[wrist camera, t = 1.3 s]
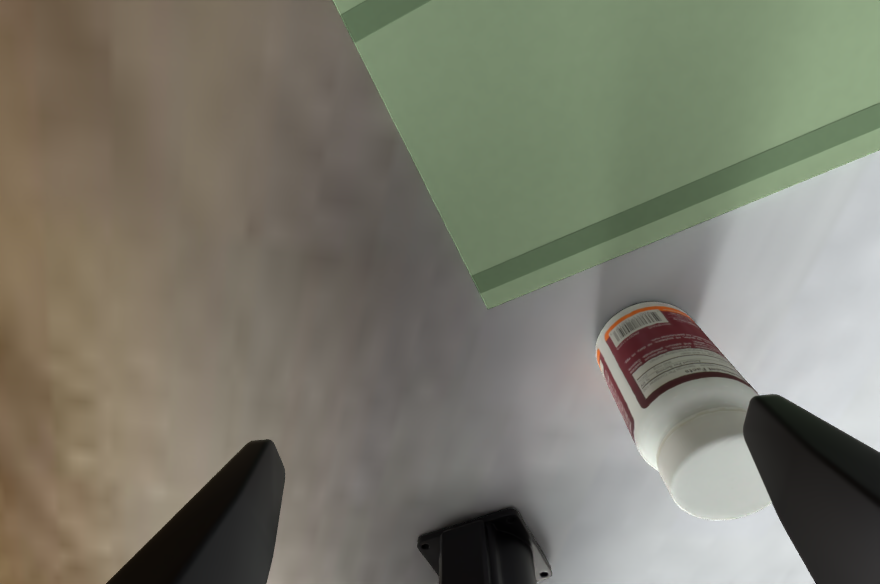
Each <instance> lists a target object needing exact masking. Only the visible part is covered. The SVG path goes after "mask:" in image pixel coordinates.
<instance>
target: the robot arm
mask: <svg viewBox="0 0 880 584" xmlns="http://www.w3.org/2000/svg"><path fill="white" fill-rule="evenodd" d="M743 436H744V440H745V442H746V445H747V447H748V449H749V451H750V454H751V456H752V458H753V461H754V463H755V465H756V467H757V470H758V472H759V474H760V477H761V479H762V481H763V483H764V486H765V488H766V490H767V492H768V495H769V497H770V499H771V502H772V504H773V506H774V508H775V510H776V513H777V515H778V517H779V519H780V521H781V523H782V525H783V526H784V528H785V530H786V532H787V534H788V536H789V537H790V539H791V541H792V543H793V544H794V546H795V548H796V550H797V551H798V553H799V555H800V557H801V558H802V560H803V562H804V564H805V565H806V567H807V569H808V571H809V572H810V574H811V576H812V578H813V579H814V581H815V583H816V584H880V452H878V451H876V450H874V449H873V448H871V447H869V446H867V445H866V444H864V443H862V442H860V441H859V440H857V439H855V438H853V437H852V436H850V435H848V434H846V433H845V432H843V431H841V430H839V429H838V428H836V427H834V426H832V425H831V424H829V423H827V422H825V421H824V420H822V419H820V418H818V417H817V416H815V415H813V414H811V413H810V412H808V411H806V410H804V409H803V408H801V407H799V406H797V405H796V404H794V403H792V402H790V401H789V400H787V399H785V398H783V397H781V396H779V395H776V394H770V395H759V396H754V397H752V398H751V400H750V402H749V406H748V409H747V413H746V417H745V421H744V425H743ZM284 482H285V469H284V466H283V463H282V461H281V458H280V456H279V454H278V451H277V449H276V447H275V444H274V443H273V442H272V441H271V440H268V439H266V440H255V441H251V442H249V443H247V444H246V445H245V446H244V447H243V448H242V449H241V450H240V451H239V452H238V453H237V454H236V455H235V456H234V457H233V458H232V459H231V460H230V461H229V462H228V463H227V464H226V465H225V466H224V467H223V468H222V469H221V470H220V471H219V472H218V473H217V474H216V475H215V476H214V477H213V478H212V479H211V480H210V481H209V482H208V483H207V484H206V485H205V486H204V487H203V488H202V489H201V490H200V491H199V492H198V493H197V494H196V495H195V496H194V497H193V498H192V499H191V500H190V501H189V502H188V503H187V504H186V505H185V506H184V507H183V508H182V509H181V510H180V511H179V512H178V513H177V514H176V515H175V516H174V517H173V518H172V519H171V520H170V521H169V522H168V523H167V524H166V525H165V526H164V527H163V528H162V529H161V530H160V531H159V532H158V533H157V534H156V535H155V536H154V537H153V538H152V539H151V540H150V541H149V542H148V543H147V544H146V545H145V546H144V547H143V548H142V549H140V550H139V551H138V552H137V553H136V554H135V555H134V556H133V557H132V558H131V559H130V560H129V561H128V562H127V563H126V564H125V565H124V566H123V567H122V568H121V569H120V570H119V571H118V572H117V573H116V574H115V575H114V576H113V577H112V578H111V579H110V580H109V581H108V582H107V583H106V584H266V582H267V578H268V575H269V571H270V567H271V562H272V558H273V553H274V547H275V541H276V535H277V528H278V522H279V515H280V508H281V502H282V495H283V489H284ZM417 547H418V549H419V551H420V552H421V553H422V555H423V556H424V557H425V558H426V560H427V561H428V562H429V564H430V565H431V566H432V568H433V569H434V570H435V572H436V573H437V574H438V575H439V584H537V581H541V580H545V579H548V578H550V577H551V576H552V571H551V566H550V565H549V563H548V561H547V560H546V558H545V556H544V555H543V553H542V551H541V549H540V548H539V546H538V544H537V543H536V541H535V539H534V538H533V536H532V534H531V533H530V531H529V529H528V528H527V526H526V524H525V523H524V521H523V519H522V518H521V516H520V514H519V513H518V511H517V510H515V509H511V508H510V509H505V510H502V511H499V512H496V513H492V514H489V515H486V516H483V517H480V518H477V519H473V520H470V521H467V522H464V523H461V524H458V525H454V526H451V527H448V528H445V529H442V530H439V531H435V532H432V533H429V534H426V535H423V536H421V537H419V538H418V543H417Z"/></svg>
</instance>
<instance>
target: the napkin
mask: <svg viewBox="0 0 880 584" xmlns="http://www.w3.org/2000/svg"><path fill="white" fill-rule="evenodd" d="M333 2H334V4H335V6H336V8H337V10H338V12H339V14H340V16H341V18H342V20H343V22H344V24H345V26H346V28H347V30H348V32H349V34H350V36H351V38H352V40H353V42H354V44H355V46H356V48H357V50H358V52H359V54H360V56H361V58H362V60H363V62H364V64H365V66H366V68H367V70H368V72H369V74H370V76H371V78H372V80H373V82H374V84H375V86H376V88H377V90H378V92H379V94H380V96H381V98H382V100H383V102H384V104H385V106H386V108H387V110H388V112H389V114H390V116H391V118H392V120H393V122H394V124H395V126H396V128H397V129H398V131H399V133H400V135H401V137H402V139H403V141H404V143H405V145H406V147H407V149H408V151H409V153H410V155H411V157H412V159H413V161H414V163H415V165H416V167H417V169H418V171H419V173H420V175H421V177H422V179H423V181H424V183H425V185H426V187H427V189H428V191H429V193H430V195H431V197H432V199H433V201H434V203H435V205H436V207H437V209H438V211H439V213H440V215H441V217H442V219H443V221H444V223H445V225H446V227H447V229H448V231H449V233H450V235H451V237H452V239H453V241H454V243H455V245H456V247H457V249H458V251H459V253H460V255H461V257H462V259H463V261H464V263H465V265H466V267H467V269H468V271H469V273H470V275H471V277H472V279H473V281H474V283H475V285H476V287H477V289H478V291H479V293H480V295H481V297H482V299H483V301H484V303H485V305H486V307H487V309H490V308H493V307H495V306H498V305H500V304H502V303H505V302H507V301H510V300H512V299H515V298H517V297H520V296H522V295H525V294H527V293H529V292H532V291H534V290H537V289H539V288H542V287H544V286H547V285H549V284H552V283H554V282H557V281H559V280H561V279H564V278H566V277H569V276H571V275H574V274H576V273H579V272H581V271H584V270H586V269H588V268H591V267H593V266H596V265H598V264H601V263H603V262H606V261H608V260H611V259H613V258H616V257H618V256H620V255H623V254H625V253H628V252H630V251H633V250H635V249H638V248H640V247H643V246H645V245H647V244H650V243H652V242H655V241H657V240H660V239H662V238H665V237H667V236H670V235H672V234H675V233H677V232H679V231H682V230H684V229H687V228H689V227H692V226H694V225H697V224H699V223H702V222H704V221H707V220H709V219H711V218H714V217H716V216H719V215H721V214H724V213H726V212H729V211H731V210H734V209H736V208H738V207H741V206H743V205H746V204H748V203H751V202H753V201H756V200H758V199H761V198H763V197H766V196H768V195H770V194H773V193H775V192H778V191H780V190H783V189H785V188H788V187H790V186H793V185H795V184H797V183H800V182H802V181H805V180H807V179H810V178H812V177H815V176H817V175H820V174H822V173H825V172H827V171H829V170H832V169H834V168H837V167H839V166H842V165H844V164H847V163H849V162H852V161H854V160H856V159H859V158H861V157H864V156H866V155H869V154H871V153H874V152H876V151H879V150H880V0H333Z"/></svg>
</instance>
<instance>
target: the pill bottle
mask: <svg viewBox="0 0 880 584" xmlns="http://www.w3.org/2000/svg"><path fill="white" fill-rule="evenodd" d="M596 359H597V362H598V365H599V367H600V369H601V372H602V374H603V376H604V378H605V380H606V382H607V384H608V386H609V389H610V391H611V393H612V395H613V397H614V399H615V402H616V404H617V406H618V408H619V410H620V412H621V414H622V416H623V418H624V421H625V423H626V425H627V427H628V429H629V432H630V434H631V436H632V438H633V440H634V442H635V444H636V447H637V449H638V451H639V452H640V454H641V456H642V457H643V458H644V460H645V461H646V462H647V463H648V464H649V465H650V466H652V467H653V468H654V469H656V470H658V471H659V473H660V476H661V478H662V479H663V481H664V483H665V485H666V486H667V488H668V490H669V492H670V494H671V496H672V498H673V499H674V501H675V502H676V504H677V505H678V506H679V507H680V508H681V509H682V510H684V511H685V512H686V513H688V514H690V515H693V516H695V517H698V518H702V519H706V520H730V519H737V518H741V517H744V516H748V515H750V514H753V513H755V512H758V511H760V510H762V509H763V508H765V507H767V506H768V505H770V504H771V503H772V502H771V499H770V497H769V495H768V492H767V490H766V488H765V486H764V483H763V481H762V479H761V477H760V474H759V472H758V470H757V467H756V465H755V463H754V461H753V458H752V456H751V454H750V451H749V449H748V447H747V445H746V442H745V440H744V436H743V425H744V421H745V417H746V413H747V409H748V406H749V402H750V400H751V398H752V397H754V396H759V395H758V393H757V392H756V391H755V390H754V389H753V387H752V386H751V385H750V384H749V383H748V382H747V381H746V380H745V379H744V378H743V377H742V376H741V375H740V373H739V372H738V371H737V370H736V369H735V368H734V366H733V365H732V364H731V363H730V362H729V361H728V360H727V359H726V358H725V356H724V355H723V354H722V353H721V352H720V351H719V349H718V348H717V347H716V346H715V345H714V344H713V342H712V341H711V340H710V339H709V338H708V337H707V336H706V335H705V333H704V332H703V331H702V330H701V329H700V328H699V327H698V325H697V324H696V323H695V322H694V321H693V320H692V319H691V318H690V317H689V316H688V315H687V314H686V313H685V312H684V311H683V310H681V309H679V308H677V307H675V306H673V305H670V304H666V303H661V302H645V303H640V304H636V305H633V306H630V307H628V308H626V309H624V310H622V311H621V312H619V313H618V314H616V315H615V316H613V317H612V318H611V319H610V320H609V321H608V322H607V323H606V325H605V326H604V328H603V329H602V330H601V332H600V334H599V337H598V339H597V342H596Z"/></svg>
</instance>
